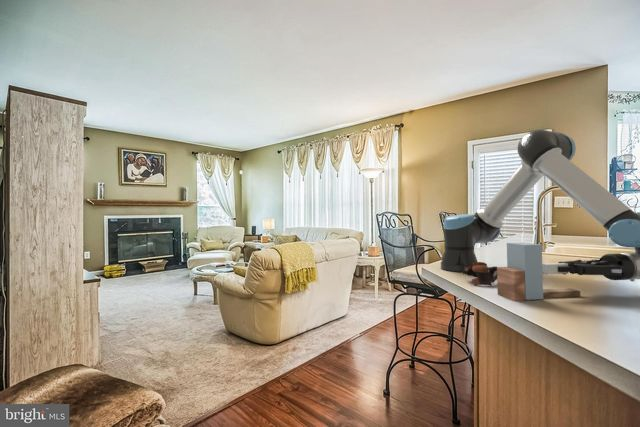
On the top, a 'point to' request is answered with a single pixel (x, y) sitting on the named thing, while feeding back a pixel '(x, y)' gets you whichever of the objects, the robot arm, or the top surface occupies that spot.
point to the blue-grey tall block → (528, 266)
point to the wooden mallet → (514, 286)
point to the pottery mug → (480, 273)
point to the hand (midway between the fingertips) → (544, 268)
